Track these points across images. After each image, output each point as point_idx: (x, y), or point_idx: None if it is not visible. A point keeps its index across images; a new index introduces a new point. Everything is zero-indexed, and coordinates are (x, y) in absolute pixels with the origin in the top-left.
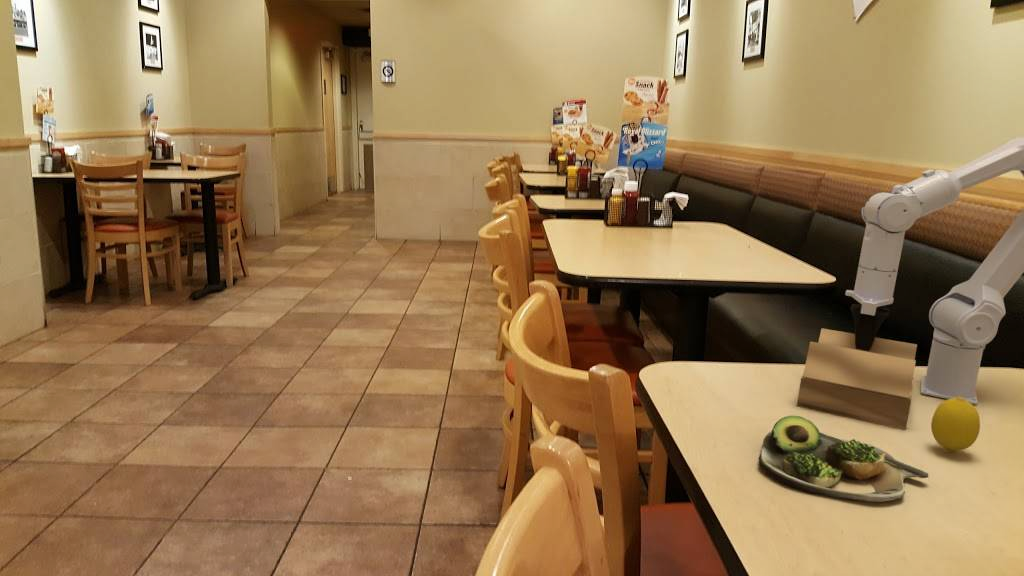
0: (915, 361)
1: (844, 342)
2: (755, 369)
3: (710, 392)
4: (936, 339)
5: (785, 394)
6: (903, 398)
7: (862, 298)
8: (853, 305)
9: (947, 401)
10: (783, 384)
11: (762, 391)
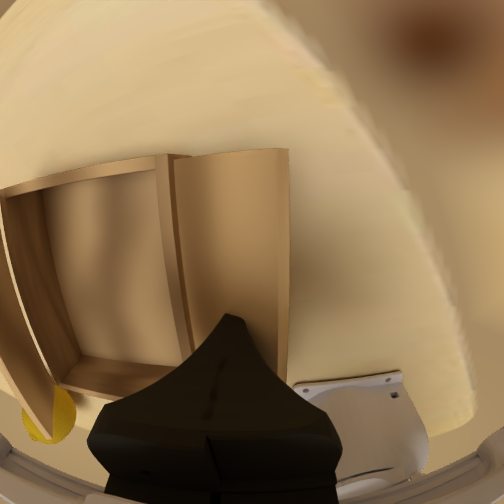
0: (46, 437)
1: (235, 272)
2: (220, 18)
3: (30, 44)
4: (341, 482)
5: (80, 137)
6: (56, 378)
7: (2, 497)
8: (158, 453)
9: (26, 422)
10: (141, 106)
11: (71, 94)
